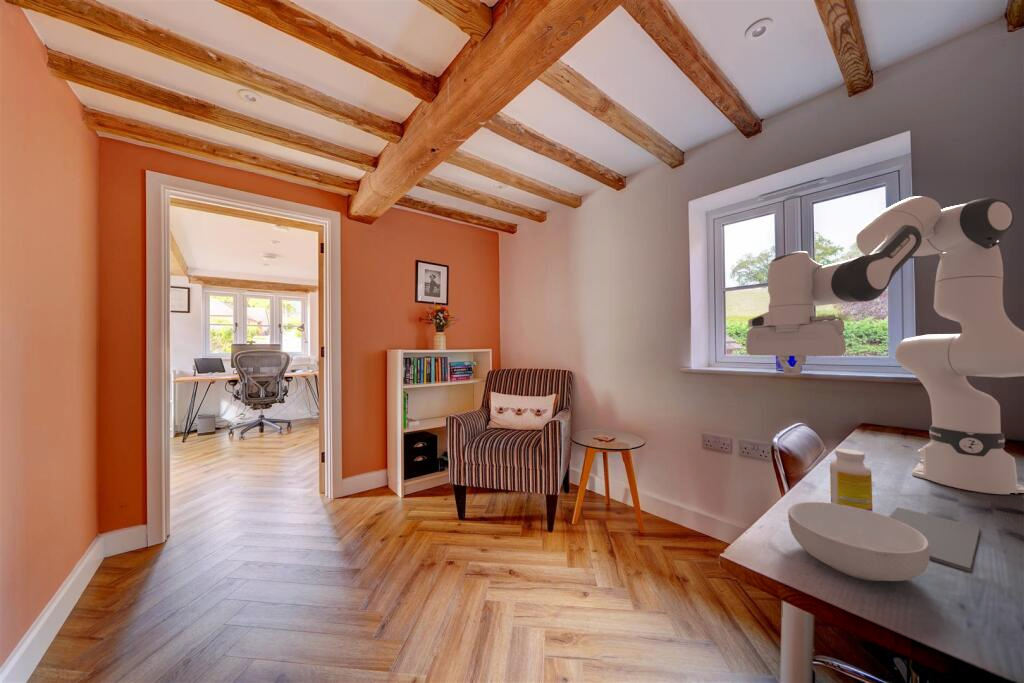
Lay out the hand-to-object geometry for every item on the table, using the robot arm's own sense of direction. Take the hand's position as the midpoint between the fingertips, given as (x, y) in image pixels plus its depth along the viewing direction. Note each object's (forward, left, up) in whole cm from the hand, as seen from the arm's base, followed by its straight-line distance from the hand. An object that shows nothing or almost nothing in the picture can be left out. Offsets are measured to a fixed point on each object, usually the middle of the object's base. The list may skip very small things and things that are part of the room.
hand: (792, 374), depth 88 cm
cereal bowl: (+30, +10, -29) cm, 43 cm away
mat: (+8, +20, -29) cm, 36 cm away
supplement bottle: (+3, +10, -29) cm, 31 cm away
